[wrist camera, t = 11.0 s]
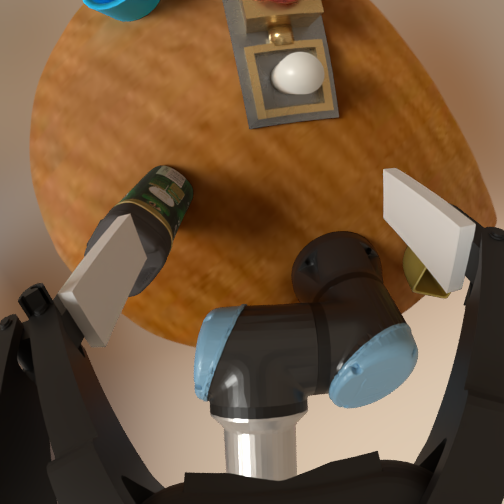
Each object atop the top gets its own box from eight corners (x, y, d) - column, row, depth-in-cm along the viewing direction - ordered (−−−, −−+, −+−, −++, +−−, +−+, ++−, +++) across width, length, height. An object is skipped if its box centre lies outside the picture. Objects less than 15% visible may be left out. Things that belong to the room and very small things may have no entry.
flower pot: (389, 261, 48) (411, 292, 40) (411, 217, 44) (438, 243, 36) (424, 270, 49) (446, 299, 42) (445, 230, 45) (472, 256, 37)
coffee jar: (166, 234, 45) (128, 316, 29) (126, 204, 42) (67, 273, 26) (204, 188, 41) (178, 258, 25) (161, 154, 38) (105, 203, 22)
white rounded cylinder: (307, 92, 34) (327, 92, 25) (273, 96, 34) (283, 96, 25) (301, 60, 31) (320, 50, 23) (267, 64, 32) (274, 54, 23)
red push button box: (337, 116, 36) (367, 126, 27) (249, 128, 37) (250, 141, 28) (308, -27, 25) (328, -59, 16) (218, -17, 26) (209, -50, 16)
